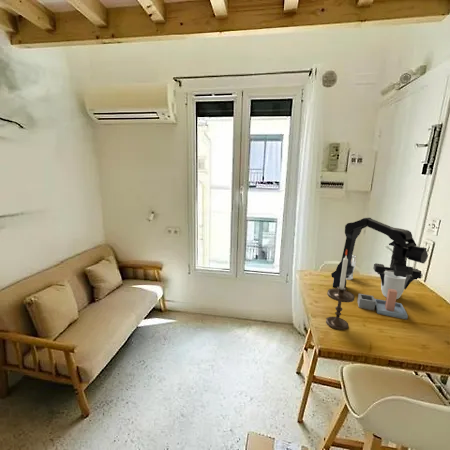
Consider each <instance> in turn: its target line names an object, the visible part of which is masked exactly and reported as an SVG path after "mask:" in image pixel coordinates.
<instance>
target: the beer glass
mask: <svg viewBox="0 0 450 450" xmlns="http://www.w3.org/2000/svg"><path fill="white" fill-rule="evenodd" d="M356 263H357V255H355V254H352V259H351V265H352V266H354V268H353V273H352V274H351V275H349V277H348V278H346V280H349V281H351V280H353V279H354V271H355V269H356V265H357V264H356Z"/></svg>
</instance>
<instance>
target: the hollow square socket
mask: <svg viewBox="0 0 450 450" xmlns="http://www.w3.org/2000/svg"><path fill="white" fill-rule="evenodd" d="M375 299H376V298H375V297H374V295H370V294H363V293H358V295H357V305H358V308H359V309H364V310H369V311H375V309H376V308H375Z"/></svg>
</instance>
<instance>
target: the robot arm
mask: <svg viewBox="0 0 450 450" xmlns="http://www.w3.org/2000/svg"><path fill="white" fill-rule="evenodd" d="M365 228H370V229H373V230H374V231H377V232H379V233H382V234H384V235H385V236H387V237H388V238H389V239H390V240H392V242H390V243H388V245H389V246H391V247H393V248H392V253H391V258H390V264H389V266H385V265H384V264H381V263H377V262H376V263H374V264H373V270H374V272H375V273H377V274H378V275H379V277H380V280H381V281H380V283H381V282H382V286H384V276H385V273H384V272H385V271H390V272H394V275H395V276H401V277H406V280H405V285H404V291H405V290H406V289H407V288H408V287H409V285H410V284H411V283H412V282H413V281H414V280H418V279H422V276H423V275H422V274H423V273H422V272H421V271H420V270H419V269H418V268H413V266H409V265H407V260H409V261H413V262H415V263H416V262H417V263H420V264H425V263H426V261H427V260H428V257H429V255H428V254H429V253H428V251H427V250H428V249H427V247H421V246H419V245H417V243H416V242H415V240H414V237H413V234H412V232H411V230H408V229H403V228H398V227H394V226H393V227H392V226H390V225H388V224H385V223H383V222H380V221H378V220H375V219H373V218H372V217H363V218H361V219H359V220H356V221H353V222H347V223H346V224H345V225H344V234H345V237H346V238H345V242H344V247H343V251H342V256H341V260H340V262H339V263H338V264H337V267H336V268H335V269H336V270H335V271H333V272H332V273H331V278H333V282H332V289H337V287H340V279H341V272H342V264H343V258H345V256H347V259H348V263H347V271H346V278H348V277H349V275H351V274H352V273H353V274H354V271H353V268H354V266H352V265H351V259H352V255H354V249H355V246H356V244H355V243H356V240H357V238H358V237H359V236H360V234H361V233H362V230H363V229H365ZM346 249H347V255H345V252H346ZM346 278H345V285H344V288H346V289H347V279H346Z"/></svg>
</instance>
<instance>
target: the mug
mask: <svg viewBox="0 0 450 450" xmlns="http://www.w3.org/2000/svg"><path fill="white" fill-rule="evenodd" d="M384 273H385V276H384V286H382V282H381V281H380V288H381V293H382V296H384V297H385V298H387V293H388V289H394V290H396V291H397V297H396V300H398V299H399V298H401V297H402V295H403V293H404V291H405V289H404V285H405V280H406V277H401V276H395V275H394V272H390V271H385V272H384Z"/></svg>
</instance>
